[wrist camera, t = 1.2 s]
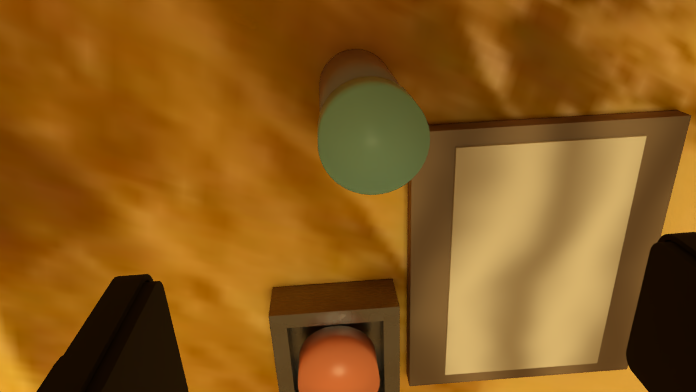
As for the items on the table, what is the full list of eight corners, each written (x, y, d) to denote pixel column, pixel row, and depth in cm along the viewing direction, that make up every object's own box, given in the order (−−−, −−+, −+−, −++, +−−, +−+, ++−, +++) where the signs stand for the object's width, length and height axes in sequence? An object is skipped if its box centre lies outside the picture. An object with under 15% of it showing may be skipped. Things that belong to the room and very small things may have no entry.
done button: (374, 322, 31) (379, 349, 29) (376, 381, 33) (380, 410, 31) (295, 328, 31) (294, 355, 29) (302, 387, 33) (301, 416, 31)
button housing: (392, 278, 33) (399, 306, 30) (393, 369, 36) (399, 401, 34) (272, 287, 33) (268, 316, 30) (284, 377, 36) (281, 411, 33)
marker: (392, 45, 27) (431, 83, 18) (392, 120, 28) (428, 191, 19) (314, 49, 26) (313, 90, 17) (320, 125, 28) (321, 198, 19)
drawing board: (677, 110, 29) (693, 116, 28) (617, 357, 37) (628, 371, 36) (408, 126, 29) (412, 133, 27) (406, 373, 36) (409, 388, 35)
